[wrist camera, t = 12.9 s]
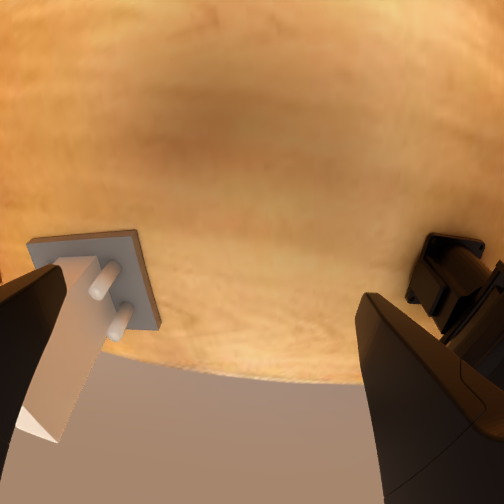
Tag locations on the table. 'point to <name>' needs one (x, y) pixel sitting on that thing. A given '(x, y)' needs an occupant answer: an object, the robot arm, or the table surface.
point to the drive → (67, 352)
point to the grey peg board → (108, 274)
